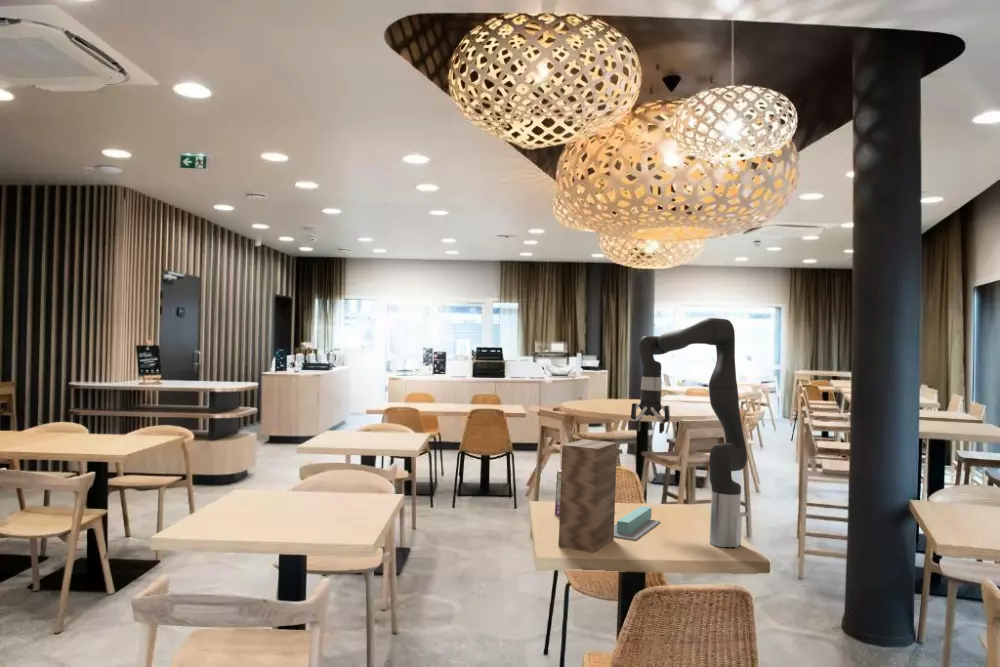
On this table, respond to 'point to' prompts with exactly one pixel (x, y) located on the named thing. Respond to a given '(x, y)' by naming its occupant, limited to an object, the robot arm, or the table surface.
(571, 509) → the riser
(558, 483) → the candy bar box
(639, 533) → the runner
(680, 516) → the table surface
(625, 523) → the teal bar
